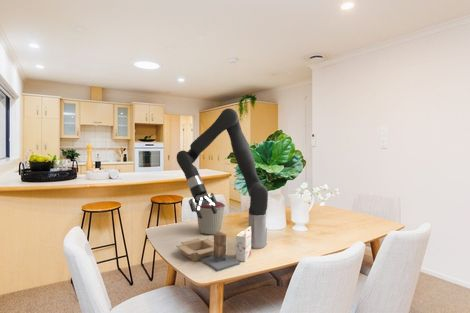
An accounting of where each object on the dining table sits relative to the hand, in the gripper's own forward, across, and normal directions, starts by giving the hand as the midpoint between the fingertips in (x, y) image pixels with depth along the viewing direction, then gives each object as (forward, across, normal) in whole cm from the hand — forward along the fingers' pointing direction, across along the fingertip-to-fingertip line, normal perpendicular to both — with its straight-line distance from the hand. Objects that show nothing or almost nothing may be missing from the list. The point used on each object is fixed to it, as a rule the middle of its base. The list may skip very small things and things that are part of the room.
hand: (208, 215), depth 135 cm
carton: (+15, -7, +9) cm, 19 cm away
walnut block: (+21, -5, -3) cm, 22 cm away
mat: (+22, -5, -2) cm, 23 cm away
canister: (+5, +16, +32) cm, 36 cm away
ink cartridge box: (+25, +7, -4) cm, 26 cm away
